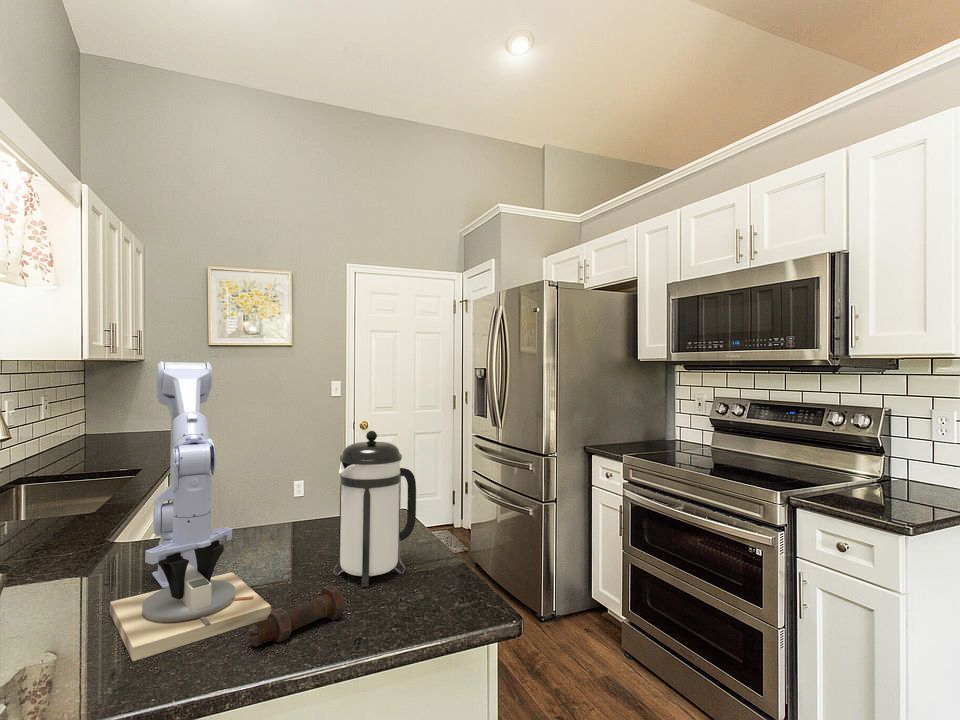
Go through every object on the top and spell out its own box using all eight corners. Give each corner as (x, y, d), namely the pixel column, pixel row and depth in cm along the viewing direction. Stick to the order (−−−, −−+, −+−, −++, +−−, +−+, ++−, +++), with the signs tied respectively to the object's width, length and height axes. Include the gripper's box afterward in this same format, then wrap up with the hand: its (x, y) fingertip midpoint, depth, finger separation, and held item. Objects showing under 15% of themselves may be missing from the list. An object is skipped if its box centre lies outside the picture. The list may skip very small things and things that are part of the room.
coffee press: (405, 589, 101) (407, 435, 102) (323, 588, 101) (326, 434, 102) (415, 557, 118) (417, 426, 119) (345, 556, 118) (348, 425, 119)
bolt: (249, 660, 79) (333, 621, 91) (263, 654, 77) (347, 614, 88) (240, 621, 81) (323, 587, 93) (253, 614, 78) (337, 580, 90)
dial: (133, 601, 89) (134, 573, 90) (220, 579, 99) (220, 553, 99) (153, 631, 79) (154, 599, 79) (247, 603, 89) (247, 575, 89)
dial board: (110, 613, 90) (110, 600, 90) (231, 582, 103) (231, 570, 103) (132, 661, 75) (133, 646, 75) (270, 617, 89) (271, 604, 89)
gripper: (164, 527, 81) (162, 614, 81) (243, 506, 94) (242, 581, 94) (138, 521, 85) (136, 605, 84) (218, 501, 97) (216, 574, 97)
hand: (190, 592), depth 89 cm, fingers closed on dial, 4 cm apart
